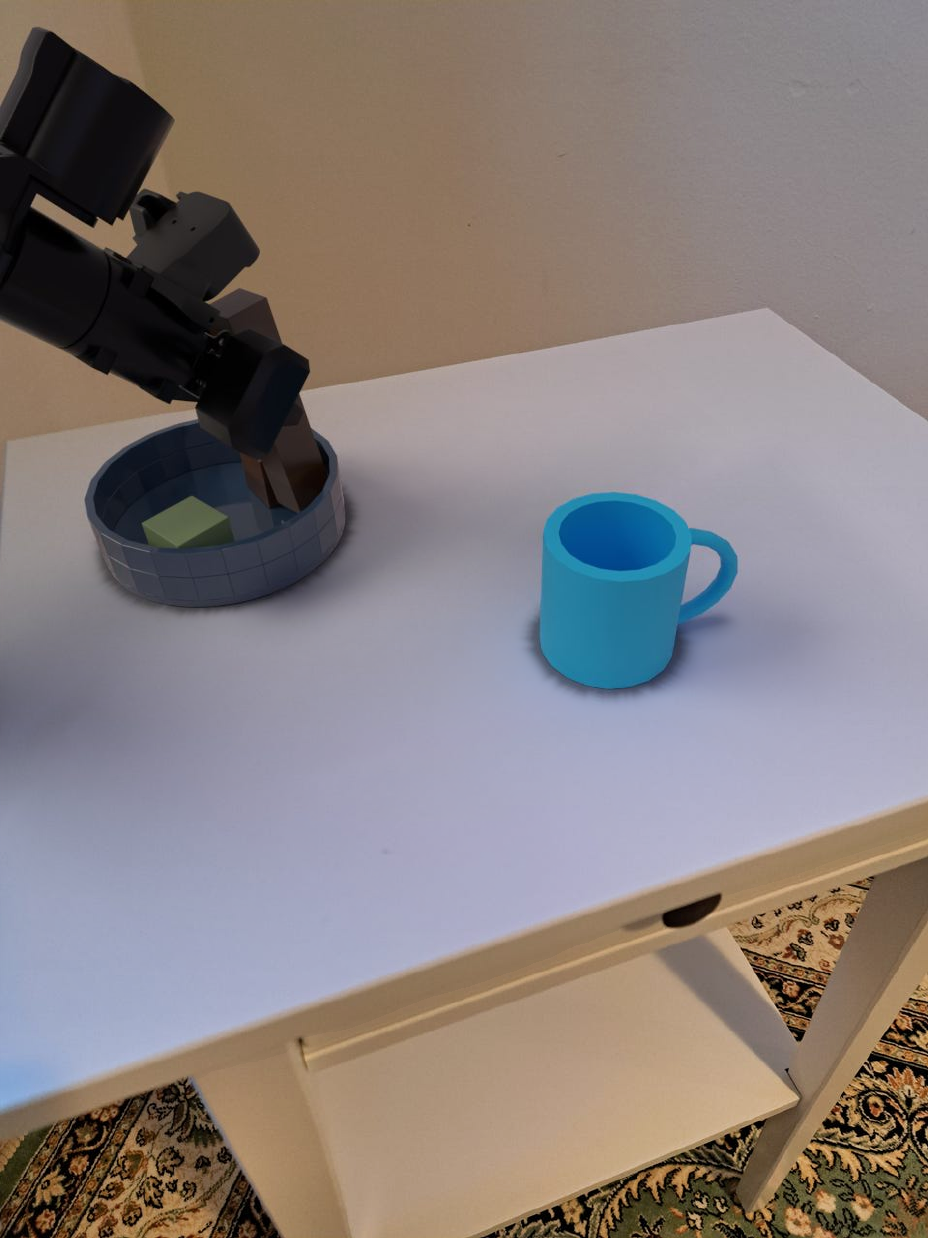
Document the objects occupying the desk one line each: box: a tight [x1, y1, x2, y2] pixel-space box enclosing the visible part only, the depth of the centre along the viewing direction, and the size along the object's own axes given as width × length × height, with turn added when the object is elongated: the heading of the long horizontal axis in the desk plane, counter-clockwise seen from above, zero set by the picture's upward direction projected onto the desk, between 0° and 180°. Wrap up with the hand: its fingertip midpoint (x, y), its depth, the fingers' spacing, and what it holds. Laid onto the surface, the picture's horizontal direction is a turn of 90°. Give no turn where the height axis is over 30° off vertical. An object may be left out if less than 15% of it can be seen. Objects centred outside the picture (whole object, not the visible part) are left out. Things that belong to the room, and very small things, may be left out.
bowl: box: [84, 418, 347, 608], centre depth 63 cm, size 17×17×4 cm
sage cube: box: [142, 496, 235, 549], centre depth 59 cm, size 4×4×4 cm
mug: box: [539, 491, 739, 690], centre depth 52 cm, size 12×8×8 cm
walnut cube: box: [240, 452, 280, 508], centre depth 66 cm, size 4×4×4 cm
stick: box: [208, 287, 328, 514], centre depth 59 cm, size 3×3×15 cm
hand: (285, 409), depth 59 cm, fingers closed on stick, 3 cm apart
